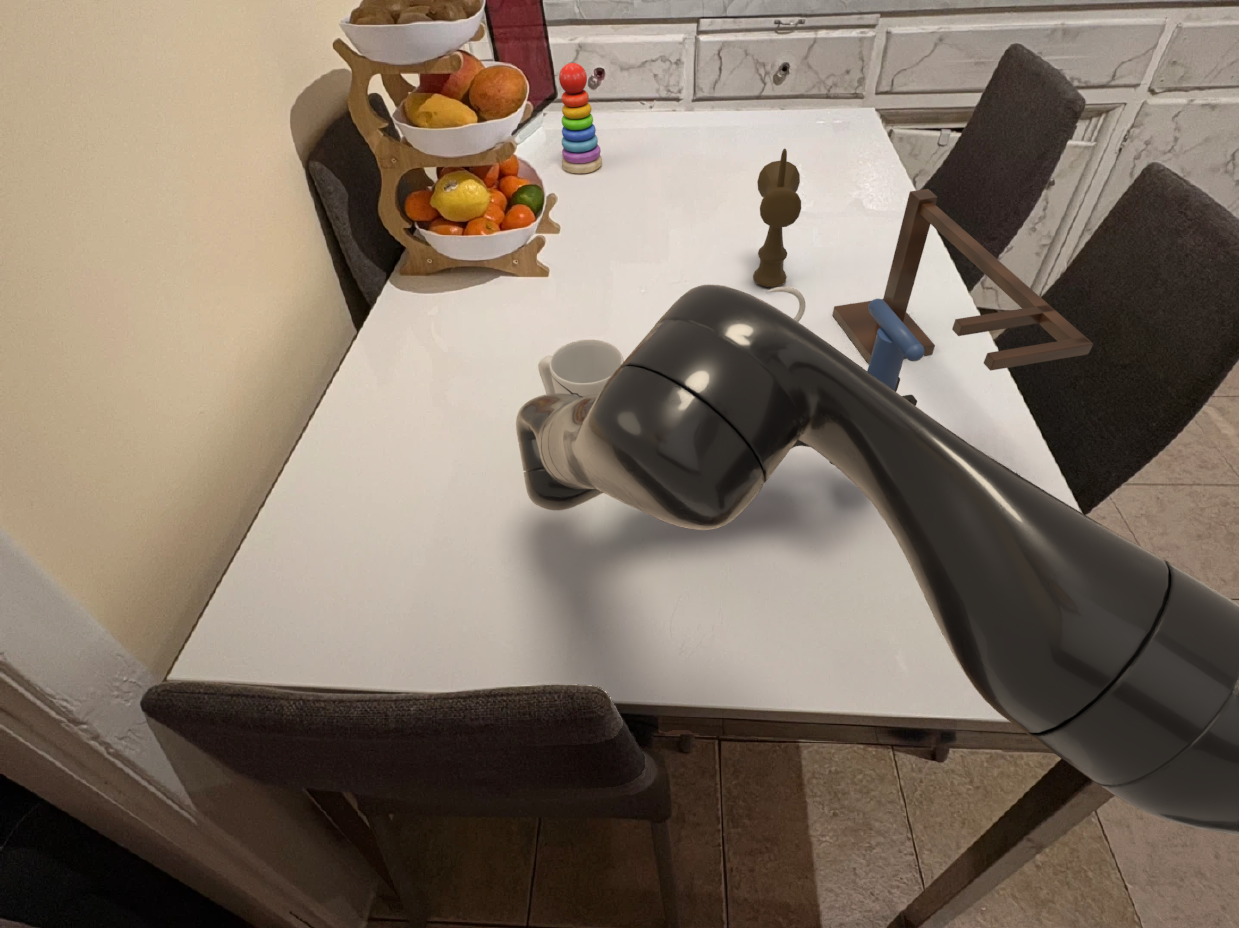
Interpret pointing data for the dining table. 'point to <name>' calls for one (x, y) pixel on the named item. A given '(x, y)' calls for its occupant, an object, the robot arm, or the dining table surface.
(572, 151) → the stacking toy
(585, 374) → the mug
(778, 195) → the kendama
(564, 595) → the dining table surface
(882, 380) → the peg
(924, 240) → the stand
